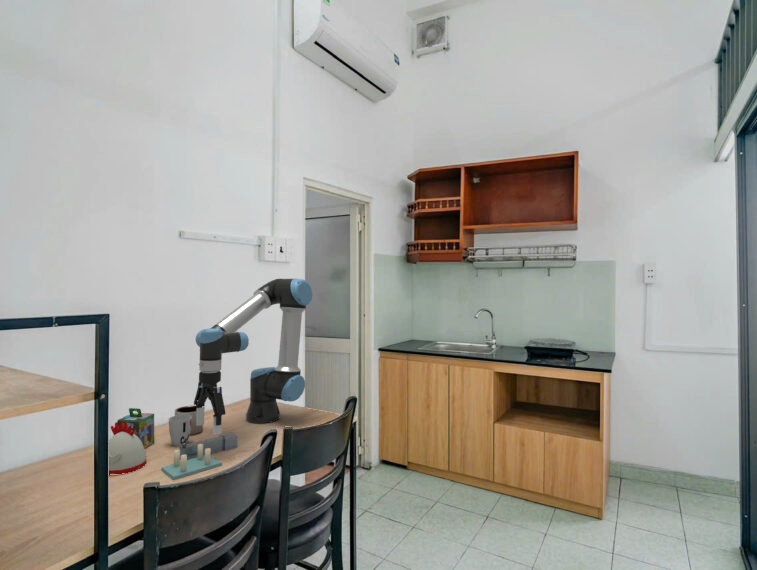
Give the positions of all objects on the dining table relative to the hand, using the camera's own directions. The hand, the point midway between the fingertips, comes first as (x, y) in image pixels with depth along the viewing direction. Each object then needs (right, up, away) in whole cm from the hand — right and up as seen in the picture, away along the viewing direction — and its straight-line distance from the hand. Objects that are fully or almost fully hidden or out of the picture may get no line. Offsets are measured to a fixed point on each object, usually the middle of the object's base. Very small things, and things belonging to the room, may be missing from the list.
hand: (208, 429), depth 160 cm
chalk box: (-29, -8, +5) cm, 31 cm away
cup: (-14, -9, +9) cm, 19 cm away
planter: (-17, -9, +22) cm, 29 cm away
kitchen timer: (-24, -8, -13) cm, 28 cm away
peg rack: (0, -9, -13) cm, 16 cm away
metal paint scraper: (0, -9, 0) cm, 9 cm away
